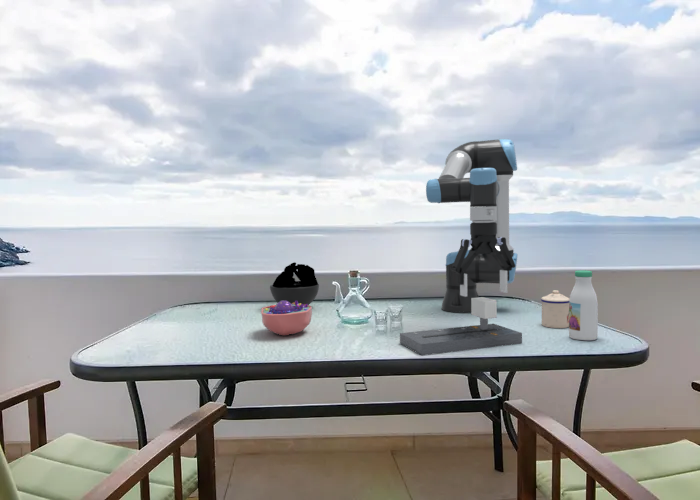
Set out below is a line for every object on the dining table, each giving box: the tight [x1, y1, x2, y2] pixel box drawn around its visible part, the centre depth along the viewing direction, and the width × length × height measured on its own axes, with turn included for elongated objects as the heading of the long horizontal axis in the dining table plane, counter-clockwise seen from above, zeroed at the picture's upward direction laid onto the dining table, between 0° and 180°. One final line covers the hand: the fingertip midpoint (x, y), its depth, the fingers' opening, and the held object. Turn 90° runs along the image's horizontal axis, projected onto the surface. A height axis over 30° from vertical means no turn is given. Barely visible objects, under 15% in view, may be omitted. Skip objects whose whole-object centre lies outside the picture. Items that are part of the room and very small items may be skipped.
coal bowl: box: [269, 261, 320, 306], centre depth 209 cm, size 20×20×19 cm
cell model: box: [260, 301, 313, 336], centre depth 165 cm, size 17×20×11 cm
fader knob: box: [470, 296, 498, 330], centre depth 149 cm, size 7×4×9 cm, turn 19°
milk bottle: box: [568, 269, 599, 341], centre depth 150 cm, size 8×8×20 cm
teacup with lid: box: [540, 289, 570, 329], centre depth 169 cm, size 12×9×12 cm
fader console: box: [399, 323, 523, 356], centre depth 147 cm, size 14×32×3 cm, turn 109°
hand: (483, 294), depth 149 cm, fingers open, 13 cm apart
